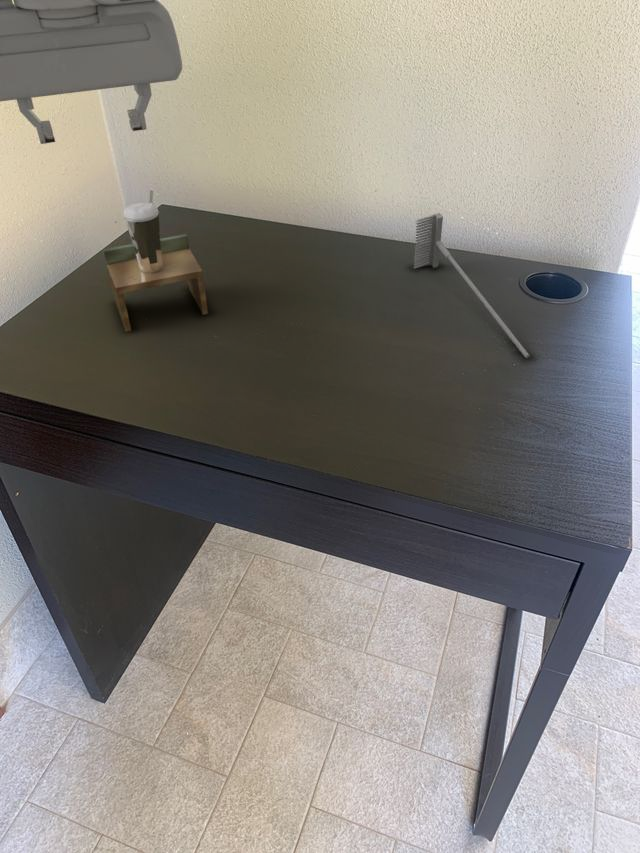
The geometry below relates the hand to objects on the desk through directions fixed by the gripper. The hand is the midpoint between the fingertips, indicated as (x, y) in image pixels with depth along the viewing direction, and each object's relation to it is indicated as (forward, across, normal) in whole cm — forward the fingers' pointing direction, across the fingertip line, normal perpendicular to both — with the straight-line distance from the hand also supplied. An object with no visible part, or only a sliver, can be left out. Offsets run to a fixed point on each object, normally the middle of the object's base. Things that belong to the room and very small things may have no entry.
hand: (94, 135), depth 72 cm
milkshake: (+22, +5, +12) cm, 26 cm away
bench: (+29, +5, +12) cm, 32 cm away
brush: (+29, +47, -5) cm, 55 cm away
